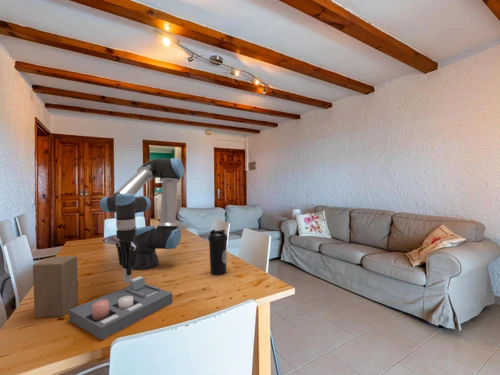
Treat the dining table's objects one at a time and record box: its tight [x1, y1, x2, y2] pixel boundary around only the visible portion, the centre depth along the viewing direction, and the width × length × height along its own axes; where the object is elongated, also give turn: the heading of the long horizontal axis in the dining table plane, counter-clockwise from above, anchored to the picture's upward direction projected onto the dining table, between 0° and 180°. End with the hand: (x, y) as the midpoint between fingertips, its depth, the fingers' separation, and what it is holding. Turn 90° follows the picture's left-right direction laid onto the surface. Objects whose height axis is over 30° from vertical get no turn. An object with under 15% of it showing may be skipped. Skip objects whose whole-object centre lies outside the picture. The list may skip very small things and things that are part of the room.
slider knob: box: [128, 275, 146, 291], centre depth 106 cm, size 3×5×4 cm, turn 148°
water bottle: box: [208, 229, 228, 276], centre depth 134 cm, size 10×10×23 cm
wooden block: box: [32, 255, 79, 318], centre depth 96 cm, size 10×10×20 cm
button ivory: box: [118, 296, 133, 310], centre depth 93 cm, size 5×5×5 cm
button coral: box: [92, 299, 109, 321], centre depth 85 cm, size 5×5×5 cm
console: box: [68, 283, 173, 341], centre depth 95 cm, size 22×28×5 cm
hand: (127, 281), depth 109 cm, fingers closed
